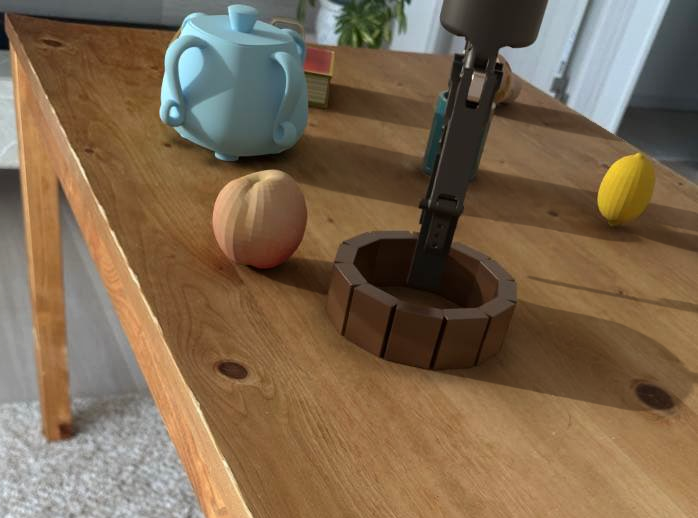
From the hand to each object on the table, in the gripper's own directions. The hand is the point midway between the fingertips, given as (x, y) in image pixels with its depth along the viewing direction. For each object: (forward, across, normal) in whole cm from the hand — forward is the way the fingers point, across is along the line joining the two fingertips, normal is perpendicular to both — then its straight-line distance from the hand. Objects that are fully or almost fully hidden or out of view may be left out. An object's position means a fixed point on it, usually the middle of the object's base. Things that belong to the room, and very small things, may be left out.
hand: (428, 254), depth 78 cm
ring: (+3, +7, 0) cm, 7 cm away
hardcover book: (+3, -49, -27) cm, 56 cm away
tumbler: (+3, -31, +1) cm, 31 cm away
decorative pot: (+3, -25, -24) cm, 35 cm away
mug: (+3, -62, +5) cm, 62 cm away
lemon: (+3, -25, +20) cm, 32 cm away
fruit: (+3, +3, -15) cm, 16 cm away
